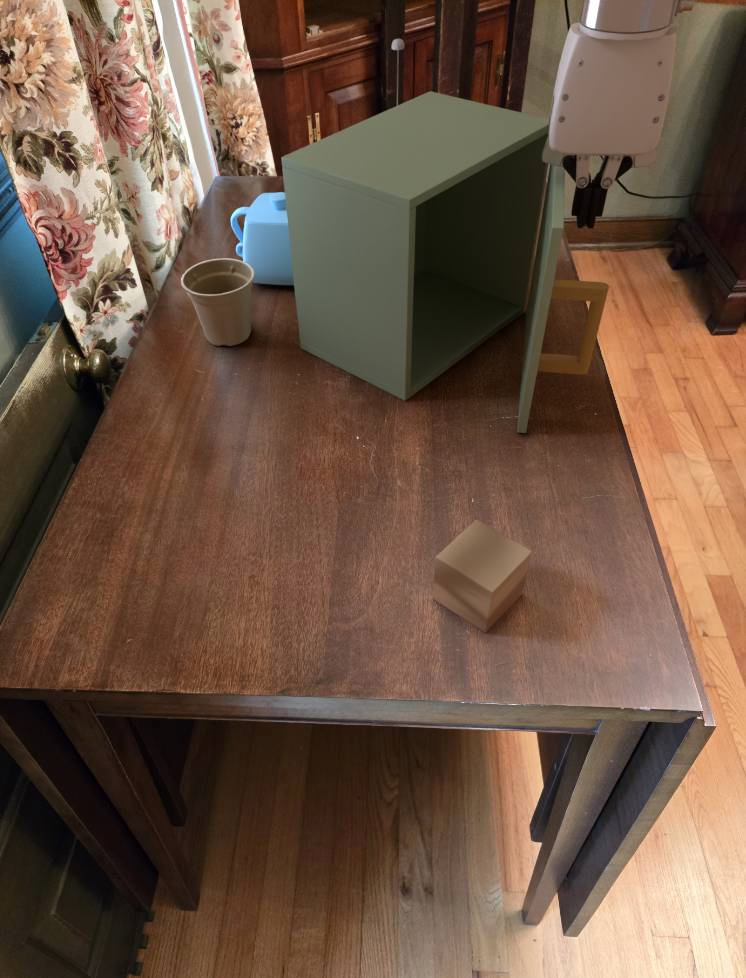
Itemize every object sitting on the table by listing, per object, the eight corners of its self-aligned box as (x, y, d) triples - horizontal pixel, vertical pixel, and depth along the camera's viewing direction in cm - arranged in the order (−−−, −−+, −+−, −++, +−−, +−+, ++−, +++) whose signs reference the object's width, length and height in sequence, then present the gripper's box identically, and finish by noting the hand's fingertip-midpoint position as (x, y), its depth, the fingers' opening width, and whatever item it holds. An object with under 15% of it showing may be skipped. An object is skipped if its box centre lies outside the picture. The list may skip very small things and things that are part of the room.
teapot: (347, 296, 105) (343, 217, 96) (227, 290, 108) (214, 212, 99) (360, 255, 113) (358, 178, 104) (249, 250, 116) (238, 175, 107)
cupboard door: (575, 315, 98) (616, 124, 81) (575, 438, 82) (628, 231, 64) (526, 312, 100) (556, 123, 82) (516, 432, 83) (552, 227, 65)
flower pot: (239, 361, 95) (228, 301, 89) (180, 345, 98) (166, 286, 92) (275, 324, 101) (267, 265, 94) (218, 311, 104) (207, 253, 97)
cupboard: (525, 311, 100) (555, 120, 82) (405, 401, 88) (410, 199, 70) (422, 271, 109) (430, 90, 91) (300, 348, 96) (281, 157, 79)
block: (522, 593, 68) (532, 551, 63) (485, 633, 65) (492, 592, 60) (470, 561, 70) (476, 518, 66) (432, 598, 68) (435, 556, 63)
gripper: (713, -4, 63) (655, 209, 77) (537, -1, 66) (512, 205, 79) (728, 19, 58) (664, 241, 72) (538, 21, 61) (510, 237, 74)
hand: (584, 222), depth 75 cm, fingers closed
